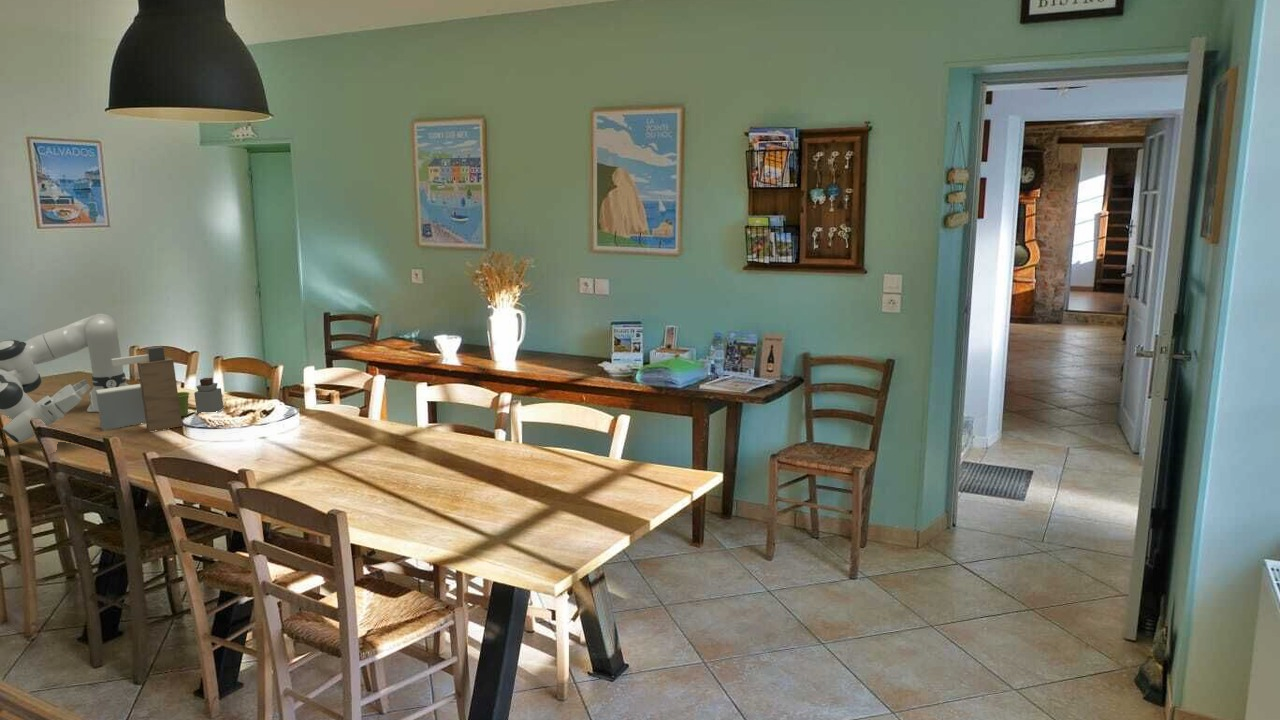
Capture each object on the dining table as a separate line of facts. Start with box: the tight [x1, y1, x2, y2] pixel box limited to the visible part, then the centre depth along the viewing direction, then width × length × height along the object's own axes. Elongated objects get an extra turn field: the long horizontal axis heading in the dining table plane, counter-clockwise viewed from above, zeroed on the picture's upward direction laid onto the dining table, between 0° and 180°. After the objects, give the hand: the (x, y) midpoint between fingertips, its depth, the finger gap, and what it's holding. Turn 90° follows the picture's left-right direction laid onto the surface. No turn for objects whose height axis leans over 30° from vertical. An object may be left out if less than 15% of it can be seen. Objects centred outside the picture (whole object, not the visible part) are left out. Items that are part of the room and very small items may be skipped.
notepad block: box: [96, 383, 146, 432], centre depth 354 cm, size 7×16×14 cm, turn 126°
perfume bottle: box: [193, 377, 224, 416], centre depth 349 cm, size 7×7×18 cm
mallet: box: [111, 345, 166, 366], centre depth 341 cm, size 17×5×5 cm, turn 126°
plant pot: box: [178, 391, 191, 417], centre depth 366 cm, size 9×9×9 cm
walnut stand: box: [136, 356, 183, 432], centre depth 347 cm, size 8×11×26 cm
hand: (88, 383), depth 333 cm, fingers open, 8 cm apart
